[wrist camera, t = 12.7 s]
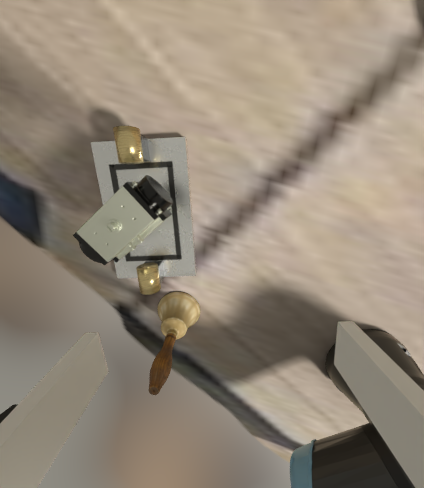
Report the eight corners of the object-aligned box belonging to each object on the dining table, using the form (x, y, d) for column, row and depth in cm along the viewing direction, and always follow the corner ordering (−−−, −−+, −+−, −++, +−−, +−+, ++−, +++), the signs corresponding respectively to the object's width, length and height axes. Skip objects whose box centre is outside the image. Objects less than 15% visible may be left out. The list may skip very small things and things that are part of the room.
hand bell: (186, 334, 41) (169, 424, 26) (150, 315, 40) (109, 397, 25) (208, 304, 39) (203, 382, 24) (170, 283, 38) (139, 351, 22)
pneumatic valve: (112, 224, 33) (57, 246, 22) (163, 176, 31) (131, 171, 19) (136, 249, 34) (96, 282, 23) (187, 204, 32) (171, 215, 20)
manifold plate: (196, 274, 37) (192, 293, 31) (121, 277, 38) (102, 296, 31) (186, 135, 31) (178, 122, 24) (95, 140, 31) (64, 129, 25)
